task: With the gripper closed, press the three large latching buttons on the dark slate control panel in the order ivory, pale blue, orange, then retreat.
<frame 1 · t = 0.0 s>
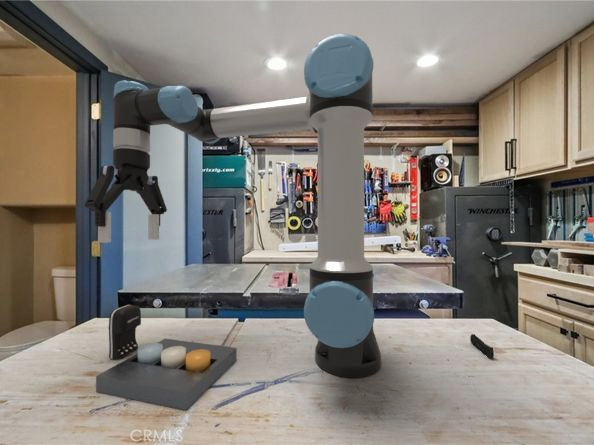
hand: (131, 240, 65), 28 cm above the workbench, fingers open, 13 cm apart
ivory button: (173, 358, 58), point 4 cm above the workbench, slide at 0.0 cm
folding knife: (480, 352, 69), on the workbench
panel: (173, 374, 58), on the workbench
pale blue button: (150, 354, 60), point 4 cm above the workbench, slide at 0.0 cm
orange button: (198, 361, 57), point 3 cm above the workbench, slide at 0.0 cm
battery charger: (126, 354, 68), on the workbench
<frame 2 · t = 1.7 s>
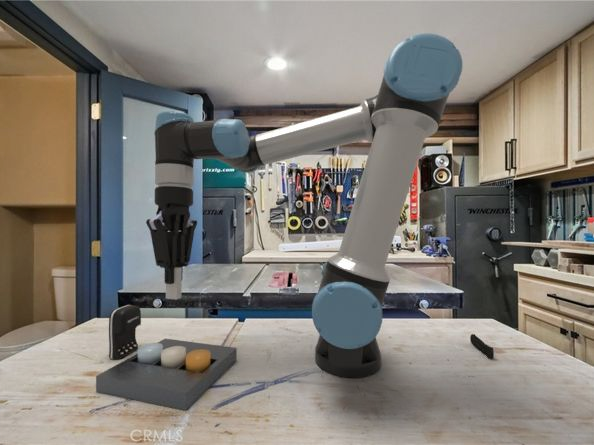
hand: (173, 298, 58), 16 cm above the workbench, fingers closed
nothing on the workbench moved.
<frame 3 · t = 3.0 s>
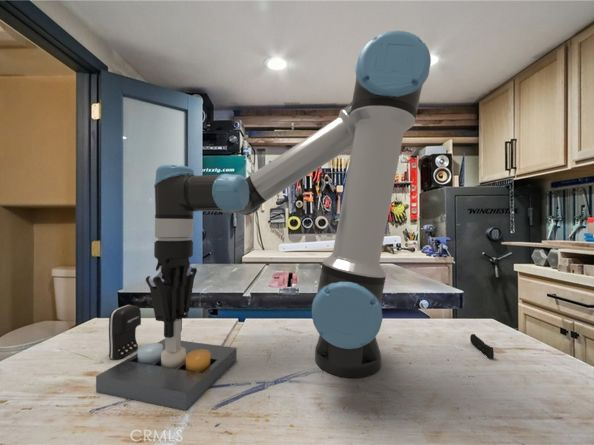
hand: (172, 350, 58), 5 cm above the workbench, fingers closed
ivory button: (173, 358, 58), point 3 cm above the workbench, slide at 0.1 cm, touching gripper
everything else where it was.
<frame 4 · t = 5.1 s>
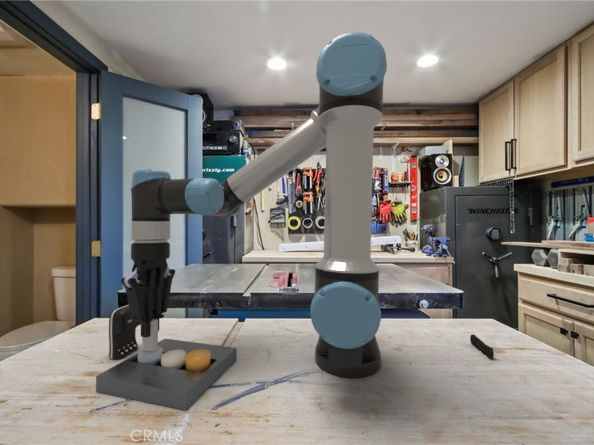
hand: (150, 349, 60), 5 cm above the workbench, fingers closed
ivory button: (173, 361, 58), point 3 cm above the workbench, slide at 0.8 cm
pale blue button: (150, 357, 60), point 3 cm above the workbench, slide at 0.7 cm, touching gripper
everything else where it was.
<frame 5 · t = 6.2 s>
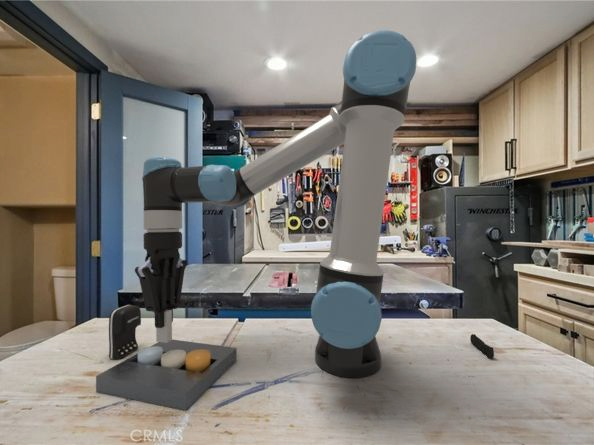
hand: (164, 340, 59), 7 cm above the workbench, fingers closed
pale blue button: (150, 358, 60), point 3 cm above the workbench, slide at 0.8 cm
everything else where it was.
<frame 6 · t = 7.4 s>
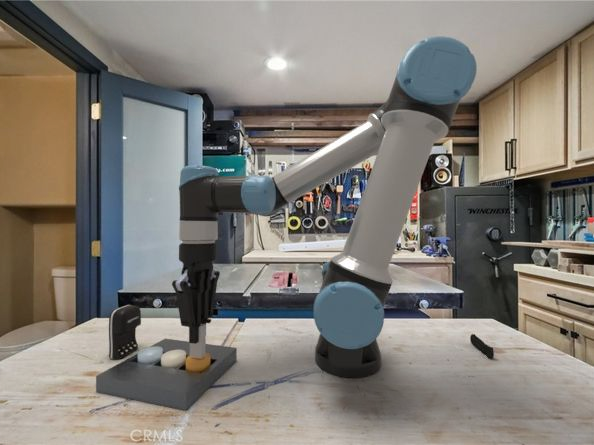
hand: (197, 356, 57), 5 cm above the workbench, fingers closed
orange button: (198, 364, 57), point 3 cm above the workbench, slide at 0.6 cm, touching gripper
everything else where it was.
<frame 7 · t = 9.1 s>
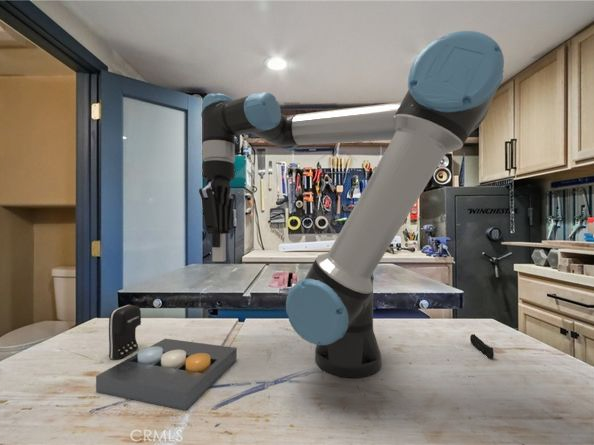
hand: (219, 260, 66), 23 cm above the workbench, fingers closed
orange button: (198, 365, 57), point 3 cm above the workbench, slide at 0.8 cm
everything else where it was.
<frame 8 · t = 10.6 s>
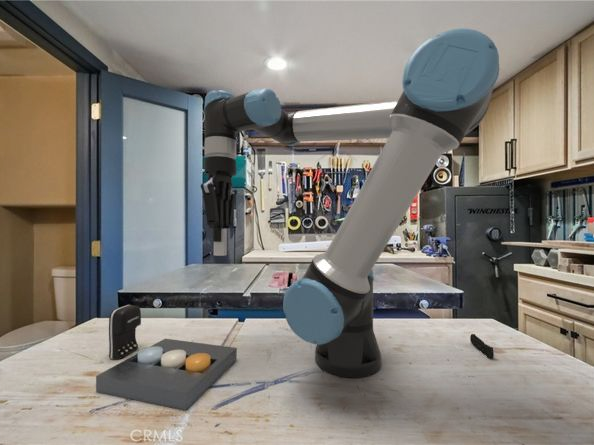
hand: (220, 255, 67), 24 cm above the workbench, fingers closed
nothing on the workbench moved.
at the end: ivory button slide at 0.8 cm; pale blue button slide at 0.8 cm; orange button slide at 0.8 cm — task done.
